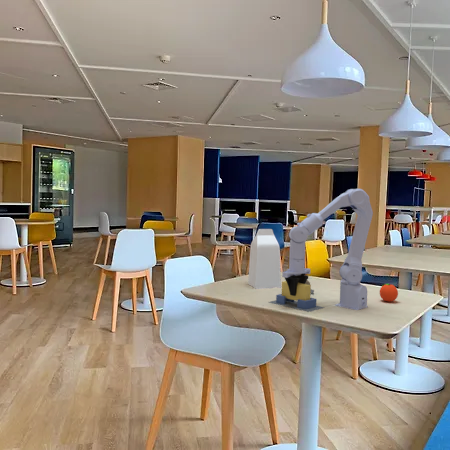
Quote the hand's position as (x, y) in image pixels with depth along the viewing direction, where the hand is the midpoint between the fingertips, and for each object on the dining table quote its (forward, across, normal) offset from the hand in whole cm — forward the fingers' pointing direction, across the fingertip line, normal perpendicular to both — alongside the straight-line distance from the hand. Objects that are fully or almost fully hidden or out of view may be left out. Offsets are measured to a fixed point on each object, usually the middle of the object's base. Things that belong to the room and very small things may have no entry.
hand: (296, 294), depth 172 cm
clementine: (+4, -34, +19) cm, 40 cm away
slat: (+2, 0, 0) cm, 2 cm away
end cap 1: (+4, 0, -5) cm, 6 cm away
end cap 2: (+4, 0, +5) cm, 6 cm away
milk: (+4, -20, -33) cm, 39 cm away
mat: (+4, 0, 0) cm, 4 cm away
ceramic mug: (+4, -19, -11) cm, 22 cm away
